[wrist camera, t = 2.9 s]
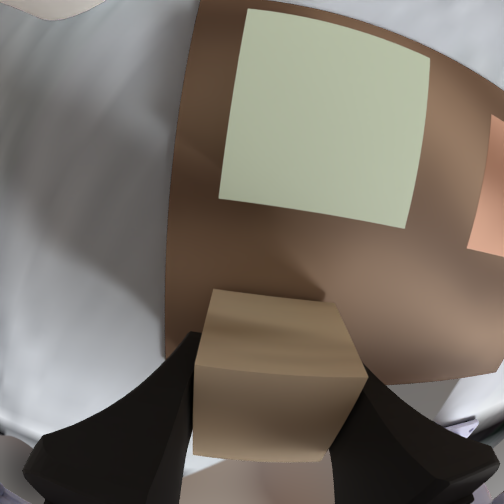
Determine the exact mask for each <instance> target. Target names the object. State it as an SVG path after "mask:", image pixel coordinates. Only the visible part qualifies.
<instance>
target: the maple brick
mask: <svg viewBox="0 0 504 504" xmlns="http://www.w3.org/2000/svg"><path fill="white" fill-rule="evenodd" d="M367 379H368V375H367V373H366V370H365V368H364V366H363V363H362V361H361V359H360V357H359V355H358V352H357V350H356V348H355V346H354V343H353V341H352V339H351V337H350V335H349V333H348V330H347V328H346V326H345V324H344V322H343V320H342V318H341V315H340V313H339V311H338V309H337V307H336V305H335V303H329V302H319V301H309V300H300V299H291V298H282V297H273V296H265V295H257V294H249V293H241V292H233V291H226V290H219V289H213V292H212V296H211V300H210V304H209V308H208V312H207V316H206V320H205V324H204V328H203V332H202V336H201V340H200V344H199V348H198V352H197V356H196V360H195V366H194V395H193V455H198V456H205V457H213V458H221V459H231V460H243V461H259V462H320V461H321V460H322V459H323V457H324V455H325V454H326V452H327V451H328V449H329V448H330V446H331V444H332V443H333V441H334V439H335V438H336V436H337V434H338V433H339V431H340V429H341V428H342V426H343V424H344V422H345V421H346V419H347V417H348V415H349V414H350V412H351V410H352V408H353V406H354V404H355V403H356V401H357V399H358V397H359V395H360V393H361V391H362V389H363V387H364V385H365V383H366V381H367Z"/></svg>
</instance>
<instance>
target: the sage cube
mask: <svg viewBox="0 0 504 504" xmlns="http://www.w3.org/2000/svg"><path fill="white" fill-rule="evenodd" d="M429 71H430V58H428V57H426V56H424V55H422V54H420V53H417V52H415V51H413V50H410V49H408V48H405V47H403V46H400V45H398V44H395V43H393V42H390V41H387V40H385V39H382V38H379V37H376V36H373V35H370V34H367V33H364V32H361V31H358V30H354V29H351V28H348V27H344V26H340V25H337V24H333V23H329V22H325V21H320V20H316V19H311V18H307V17H302V16H297V15H291V14H285V13H279V12H272V11H265V10H257V9H248V10H247V16H246V21H245V26H244V32H243V37H242V43H241V48H240V54H239V60H238V66H237V72H236V78H235V84H234V90H233V97H232V103H231V110H230V116H229V123H228V130H227V137H226V144H225V152H224V159H223V167H222V175H221V182H220V191H219V199H227V200H234V201H242V202H249V203H257V204H264V205H271V206H277V207H284V208H291V209H297V210H303V211H309V212H316V213H322V214H328V215H333V216H339V217H345V218H350V219H356V220H361V221H367V222H372V223H377V224H383V225H388V226H393V227H398V228H403V229H405V225H406V221H407V217H408V213H409V209H410V205H411V200H412V196H413V191H414V186H415V181H416V176H417V171H418V165H419V160H420V154H421V147H422V141H423V134H424V126H425V118H426V109H427V99H428V87H429Z"/></svg>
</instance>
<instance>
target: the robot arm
mask: <svg viewBox="0 0 504 504" xmlns="http://www.w3.org/2000/svg"><path fill="white" fill-rule="evenodd" d="M201 336H202V333H200V332H193V331H190V332H189V333H187V335H186V336H185V338H184V339H183V340H182V342H181V343H180V344H179V345H178V347H177V348H176V349H175V350H174V351H173V353H172V354H171V355H170V356H169V357H168V358H167V359H166V360H165V361H164V362H163V364H162V365H161V366H160V367H159V368H158V369H157V370H155V371H154V372H153V373H152V374H151V375H150V376H149V377H148V378H147V379H146V380H145V381H144V382H142V383H141V384H140V385H139V386H138V387H136V388H135V389H134V390H132V391H131V392H130V393H128V394H127V395H126V396H124V397H123V398H121V399H120V400H118V401H117V402H115V403H114V404H112V405H111V406H109V407H108V408H106V409H104V410H102V411H101V412H99V413H97V414H95V415H93V416H91V417H89V418H87V419H85V420H83V421H81V422H79V423H76V424H74V425H72V426H69V427H66V428H64V429H61V430H58V431H55V432H52V433H49V434H46V435H43V436H42V437H41V439H40V440H39V441H38V443H37V444H36V445H35V447H34V449H33V451H32V452H31V454H30V456H29V458H28V460H27V462H26V464H25V466H24V468H23V470H22V471H23V475H24V477H25V479H26V480H27V481H28V482H29V483H30V484H31V485H32V486H33V488H35V490H37V492H38V493H39V494H41V496H43V497H44V498H45V502H44V504H179V499H180V491H181V484H182V477H183V470H184V464H185V457H186V453H187V448H188V444H189V441H190V437H191V433H192V430H193V395H194V366H195V360H196V356H197V352H198V348H199V344H200V340H201ZM362 363H363V362H362ZM363 366H364V368H365V370H366V373H367V375H368V379H367V381H366V383H365V385H364V387H363V389H362V391H361V393H360V395H359V397H358V399H357V401H356V403H355V404H354V406H353V408H352V410H351V412H350V414H349V415H348V417H347V419H346V421H345V422H344V424H343V426H342V428H341V429H340V431H339V433H338V434H337V436H336V438H335V439H334V441H333V443H332V444H331V446H330V448H329V451H330V456H331V462H332V468H333V478H334V479H333V480H334V493H335V504H504V491H503V492H502V493H501V494H499V495H498V496H497V497H496V498H494V499H493V500H492V497H491V495H490V493H489V491H488V489H487V486H486V484H485V482H486V481H487V480H488V479H489V478H490V477H491V476H492V475H493V474H494V473H495V472H496V471H497V470H498V468H499V465H500V463H499V460H498V459H497V456H496V455H495V453H494V451H493V449H492V447H491V446H489V445H486V444H483V443H479V442H476V441H473V440H470V439H468V438H467V437H468V436H469V435H470V434H471V433H472V432H473V430H474V429H475V428H476V427H477V425H478V424H479V421H478V420H477V419H475V420H472V421H468V422H465V423H461V424H457V425H453V426H449V427H445V428H444V427H442V426H440V425H438V424H437V423H435V422H433V421H431V420H429V419H428V418H426V417H425V416H423V415H422V414H420V413H419V412H417V411H416V410H415V409H413V408H412V407H411V406H409V405H408V404H407V403H405V402H404V401H403V400H402V399H400V398H399V397H398V396H397V395H396V394H395V393H394V392H392V391H391V390H390V389H389V388H388V387H387V386H386V385H385V384H384V383H383V382H381V381H380V380H379V379H378V378H377V377H376V376H375V375H374V374H373V373H372V372H371V371H370V370H369V369H368V368H367V367H366V366H365V365H364V363H363ZM0 504H31V503H29V502H27V501H26V500H24V499H22V498H20V497H19V496H17V495H15V494H14V493H12V492H11V491H9V490H7V489H5V488H4V486H3V485H2V484H1V483H0Z"/></svg>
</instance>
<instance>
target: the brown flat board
mask: <svg viewBox="0 0 504 504" xmlns="http://www.w3.org/2000/svg"><path fill="white" fill-rule="evenodd" d="M248 9H257V10H265V11H272V12H279V13H285V14H291V15H297V16H302V17H307V18H311V19H316V20H320V21H325V22H329V23H333V24H337V25H340V26H344V27H348V28H351V29H354V30H358V31H361V32H364V33H367V34H370V35H373V36H376V37H379V38H382V39H385V40H387V41H390V42H393V43H395V44H398V45H400V46H403V47H405V48H408V49H410V50H413V51H415V52H417V53H420V54H422V55H424V56H426V57H428V58H430V71H429V87H428V99H427V109H426V118H425V126H424V134H423V141H422V147H421V154H420V160H419V165H418V171H417V176H416V181H415V186H414V191H413V196H412V200H411V205H410V209H409V213H408V217H407V221H406V225H405V229H403V228H398V227H393V226H388V225H383V224H377V223H372V222H367V221H361V220H356V219H350V218H345V217H339V216H333V215H328V214H322V213H316V212H309V211H303V210H297V209H291V208H284V207H277V206H271V205H264V204H257V203H249V202H242V201H234V200H227V199H219V191H220V182H221V175H222V167H223V159H224V152H225V144H226V137H227V130H228V123H229V116H230V110H231V103H232V97H233V90H234V84H235V78H236V72H237V66H238V60H239V54H240V48H241V43H242V37H243V32H244V26H245V21H246V16H247V10H248ZM213 289H219V290H226V291H233V292H241V293H249V294H257V295H265V296H273V297H282V298H291V299H300V300H309V301H319V302H329V303H335V305H336V307H337V309H338V311H339V313H340V315H341V318H342V320H343V322H344V324H345V326H346V328H347V330H348V333H349V335H350V337H351V339H352V341H353V343H354V346H355V348H356V350H357V352H358V355H359V357H360V359H361V361H362V362H363V363H364V365H365V366H366V367H367V368H368V369H369V370H370V371H371V372H372V373H373V374H374V375H375V376H376V377H377V378H378V379H379V380H380V381H381V382H383V383H384V384H385V385H397V384H411V383H423V382H433V381H442V380H450V379H458V378H465V377H471V376H477V375H483V374H489V373H494V372H496V371H497V370H498V368H499V366H500V365H501V363H502V361H503V359H504V91H503V90H502V89H500V88H499V87H497V86H496V85H494V84H493V83H491V82H490V81H488V80H487V79H485V78H483V77H482V76H480V75H479V74H477V73H475V72H474V71H472V70H470V69H469V68H467V67H465V66H463V65H462V64H460V63H458V62H456V61H454V60H452V59H451V58H449V57H447V56H445V55H443V54H441V53H439V52H437V51H435V50H433V49H431V48H429V47H426V46H424V45H422V44H420V43H418V42H415V41H413V40H411V39H408V38H406V37H404V36H401V35H399V34H396V33H394V32H391V31H388V30H386V29H383V28H380V27H377V26H374V25H371V24H368V23H365V22H362V21H359V20H356V19H353V18H349V17H346V16H342V15H338V14H335V13H331V12H327V11H323V10H318V9H314V8H309V7H304V6H299V5H294V4H288V3H282V2H275V1H268V0H200V4H199V8H198V13H197V17H196V21H195V26H194V30H193V35H192V40H191V45H190V50H189V55H188V60H187V65H186V71H185V77H184V82H183V89H182V95H181V101H180V108H179V115H178V122H177V130H176V137H175V146H174V155H173V164H172V174H171V185H170V196H169V210H168V225H167V243H166V269H165V353H166V359H167V358H168V357H169V356H170V355H171V354H172V353H173V351H174V350H175V349H176V348H177V347H178V345H179V344H180V343H181V342H182V340H183V339H184V338H185V336H186V335H187V333H189V332H190V331H193V332H200V333H202V332H203V328H204V324H205V320H206V316H207V312H208V308H209V304H210V300H211V296H212V292H213Z"/></svg>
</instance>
